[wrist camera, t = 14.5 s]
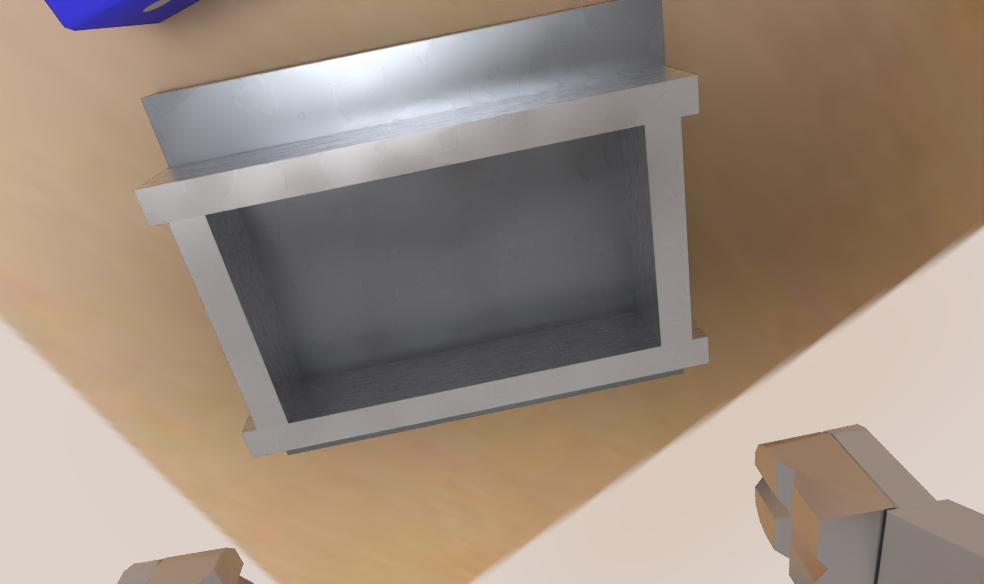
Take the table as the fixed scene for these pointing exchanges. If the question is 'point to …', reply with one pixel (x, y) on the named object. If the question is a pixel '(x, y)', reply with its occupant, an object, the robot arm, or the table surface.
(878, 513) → the robot arm
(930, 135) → the table surface
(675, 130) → the open chest
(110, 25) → the die
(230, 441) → the table surface
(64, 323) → the table surface
